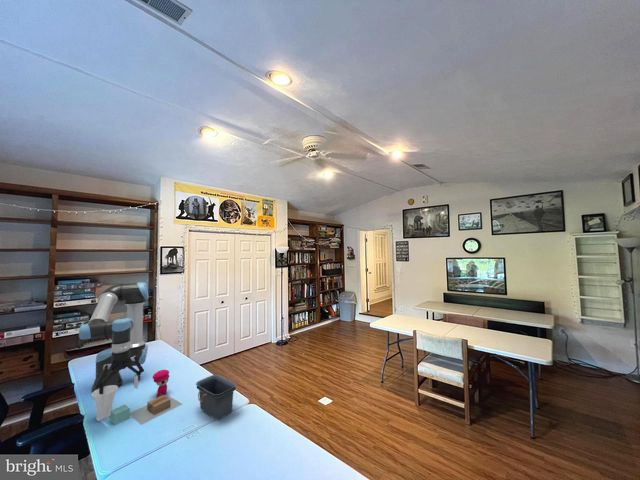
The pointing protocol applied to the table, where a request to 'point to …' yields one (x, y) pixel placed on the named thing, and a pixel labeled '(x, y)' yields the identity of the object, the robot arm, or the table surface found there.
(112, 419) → the teal brick
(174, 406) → the build plate
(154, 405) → the walnut brick
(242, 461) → the table surface
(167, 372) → the toy
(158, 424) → the table surface
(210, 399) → the storage bin
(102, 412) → the cup
